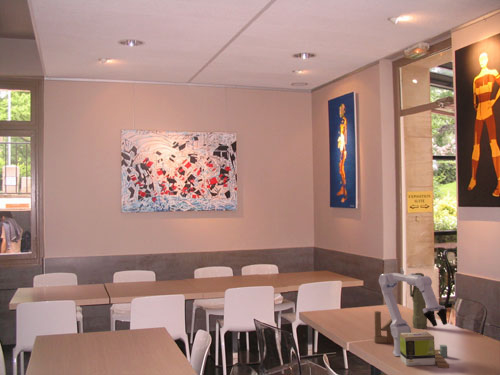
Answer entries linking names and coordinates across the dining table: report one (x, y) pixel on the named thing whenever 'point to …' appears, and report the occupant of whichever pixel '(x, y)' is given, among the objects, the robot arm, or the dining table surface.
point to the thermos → (418, 307)
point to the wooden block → (378, 329)
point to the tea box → (417, 348)
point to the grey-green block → (442, 351)
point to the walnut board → (440, 361)
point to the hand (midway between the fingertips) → (440, 325)
